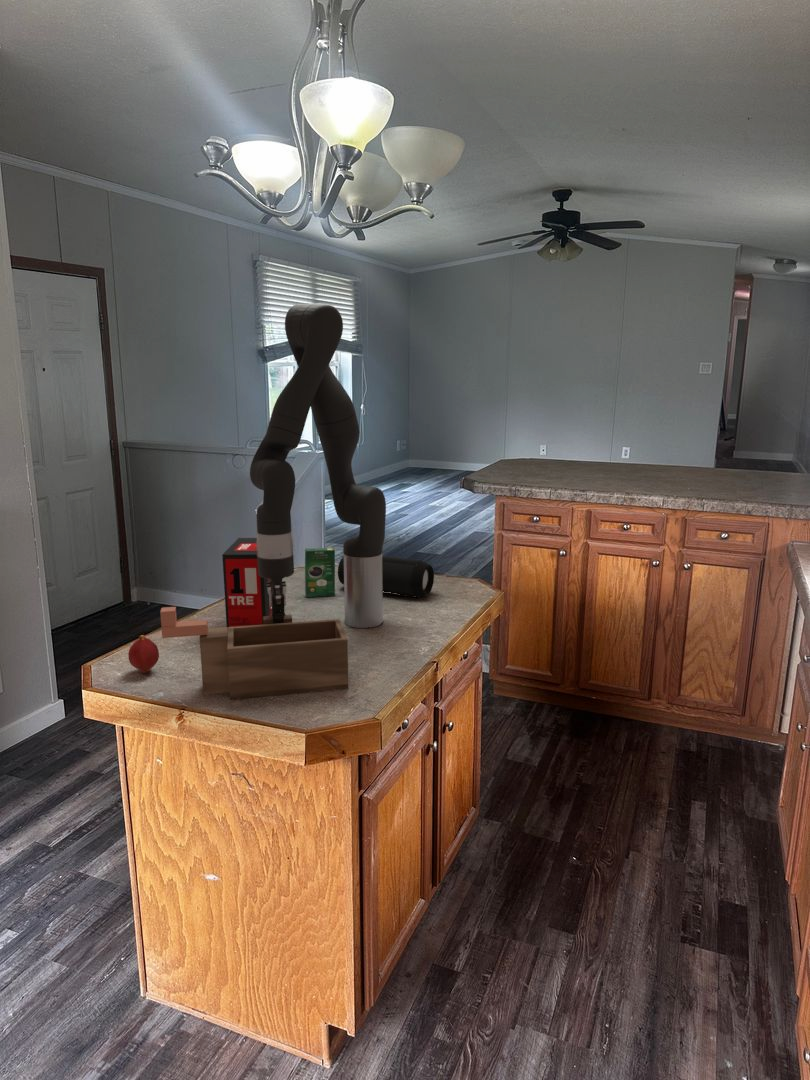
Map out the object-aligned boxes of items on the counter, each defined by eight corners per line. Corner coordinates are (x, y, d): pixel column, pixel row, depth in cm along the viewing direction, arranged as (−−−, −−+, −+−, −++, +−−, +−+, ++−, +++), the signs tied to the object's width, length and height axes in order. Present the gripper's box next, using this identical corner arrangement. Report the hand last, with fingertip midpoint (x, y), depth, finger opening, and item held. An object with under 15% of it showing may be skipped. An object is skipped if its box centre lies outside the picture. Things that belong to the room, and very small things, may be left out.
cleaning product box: (242, 616, 181) (238, 537, 176) (278, 616, 181) (275, 537, 177) (227, 640, 165) (222, 554, 160) (266, 640, 165) (262, 554, 160)
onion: (130, 668, 149) (126, 631, 147) (159, 664, 151) (156, 628, 149) (130, 679, 144) (126, 641, 142) (160, 675, 146) (157, 637, 144)
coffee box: (334, 593, 200) (333, 546, 197) (336, 596, 197) (335, 549, 194) (305, 595, 198) (303, 548, 195) (306, 598, 196) (304, 550, 193)
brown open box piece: (205, 676, 145) (201, 623, 143) (340, 664, 151) (339, 613, 148) (202, 702, 134) (198, 645, 131) (348, 688, 139) (347, 633, 137)
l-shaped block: (163, 632, 137) (161, 607, 136) (207, 629, 139) (206, 604, 138) (162, 638, 134) (160, 612, 133) (207, 634, 136) (205, 609, 135)
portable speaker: (435, 593, 200) (435, 557, 198) (420, 603, 191) (420, 566, 189) (353, 582, 211) (352, 548, 208) (336, 591, 202) (335, 556, 200)
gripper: (295, 560, 147) (298, 641, 151) (291, 544, 160) (293, 619, 164) (257, 562, 145) (261, 644, 149) (256, 546, 159) (259, 621, 162)
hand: (278, 630), depth 157 cm, fingers closed on lid, 2 cm apart
